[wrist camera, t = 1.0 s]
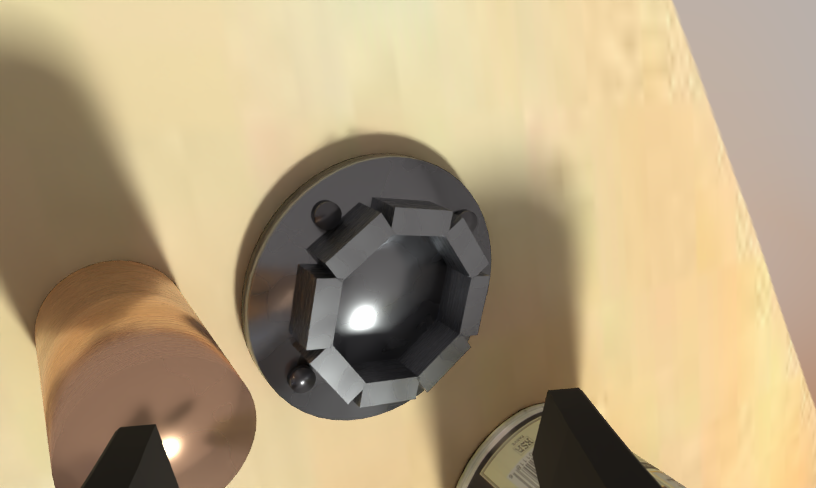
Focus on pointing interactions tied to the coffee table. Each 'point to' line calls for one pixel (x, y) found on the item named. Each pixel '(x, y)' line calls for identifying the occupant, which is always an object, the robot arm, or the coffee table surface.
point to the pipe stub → (137, 376)
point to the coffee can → (520, 456)
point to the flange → (366, 286)
